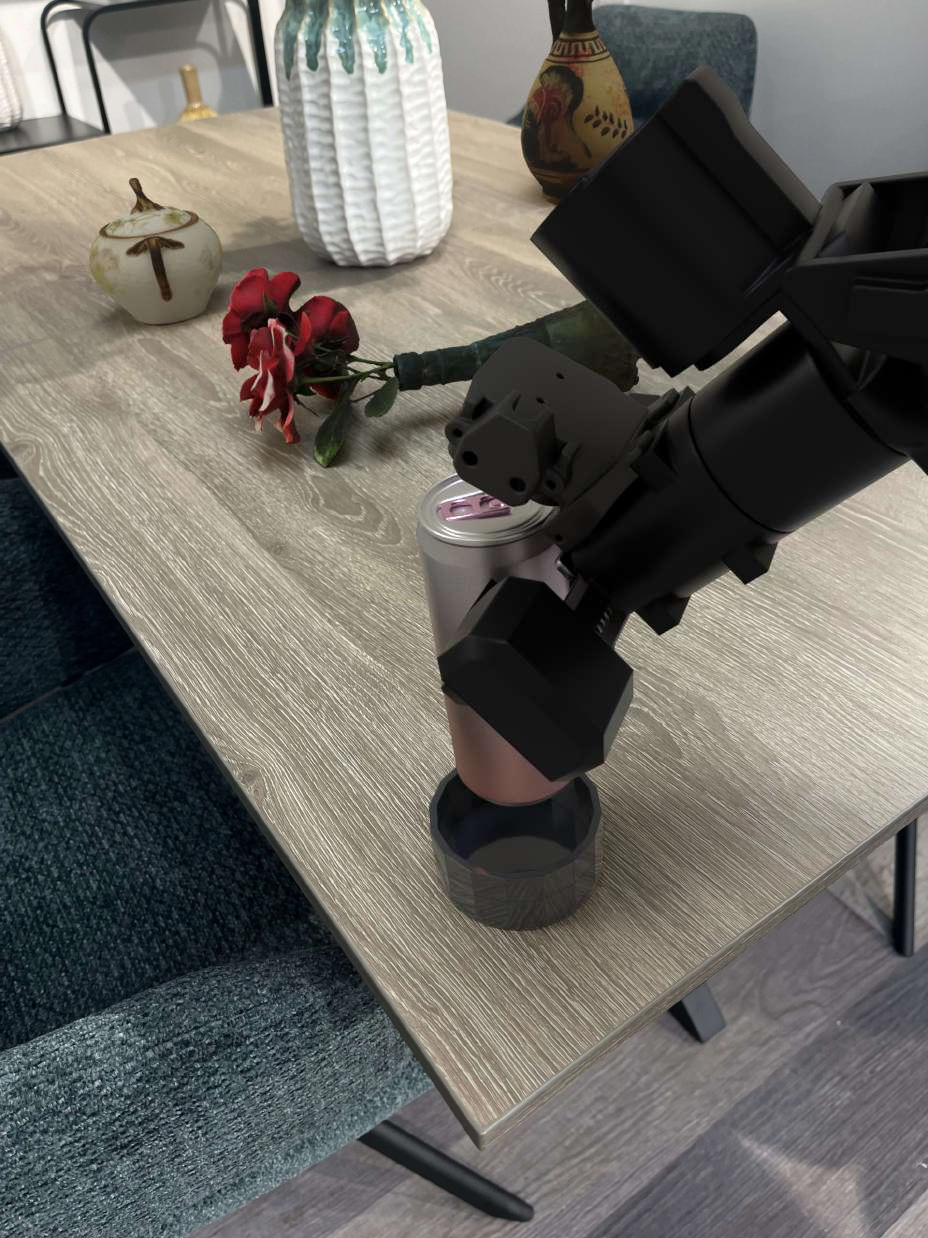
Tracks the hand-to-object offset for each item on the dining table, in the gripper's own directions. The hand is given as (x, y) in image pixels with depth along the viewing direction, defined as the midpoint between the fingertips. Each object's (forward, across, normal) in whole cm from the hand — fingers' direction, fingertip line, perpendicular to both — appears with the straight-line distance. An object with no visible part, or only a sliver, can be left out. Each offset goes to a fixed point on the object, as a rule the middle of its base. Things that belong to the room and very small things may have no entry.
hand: (478, 649), depth 45 cm
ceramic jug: (+33, -111, -15) cm, 117 cm away
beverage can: (+4, 0, +6) cm, 7 cm away
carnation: (+27, -44, -8) cm, 53 cm away
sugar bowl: (+57, -61, -39) cm, 92 cm away
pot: (+8, +1, +10) cm, 13 cm away
